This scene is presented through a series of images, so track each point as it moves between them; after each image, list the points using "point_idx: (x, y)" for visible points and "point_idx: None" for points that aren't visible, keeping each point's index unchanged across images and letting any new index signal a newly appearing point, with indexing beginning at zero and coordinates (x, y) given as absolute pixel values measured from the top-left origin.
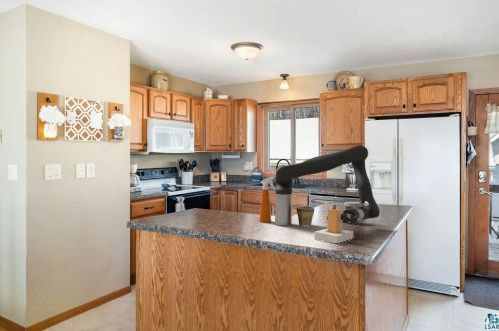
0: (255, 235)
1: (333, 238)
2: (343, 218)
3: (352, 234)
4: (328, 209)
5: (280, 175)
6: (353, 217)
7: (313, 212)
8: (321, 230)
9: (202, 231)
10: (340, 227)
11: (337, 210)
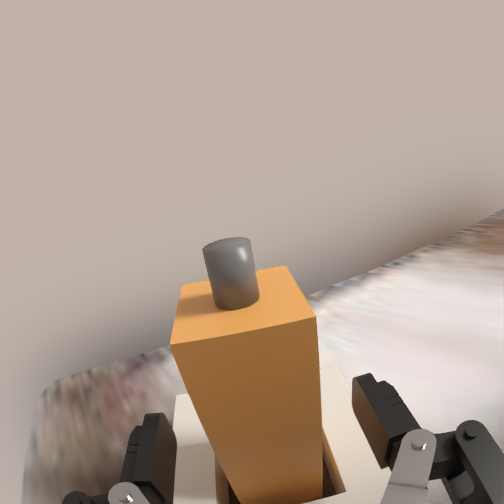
0: (455, 268)
1: None
2: (156, 414)
3: None
4: (273, 268)
5: None
6: (72, 496)
7: None
8: (352, 409)
9: (492, 221)
10: (229, 479)
11: (180, 304)
